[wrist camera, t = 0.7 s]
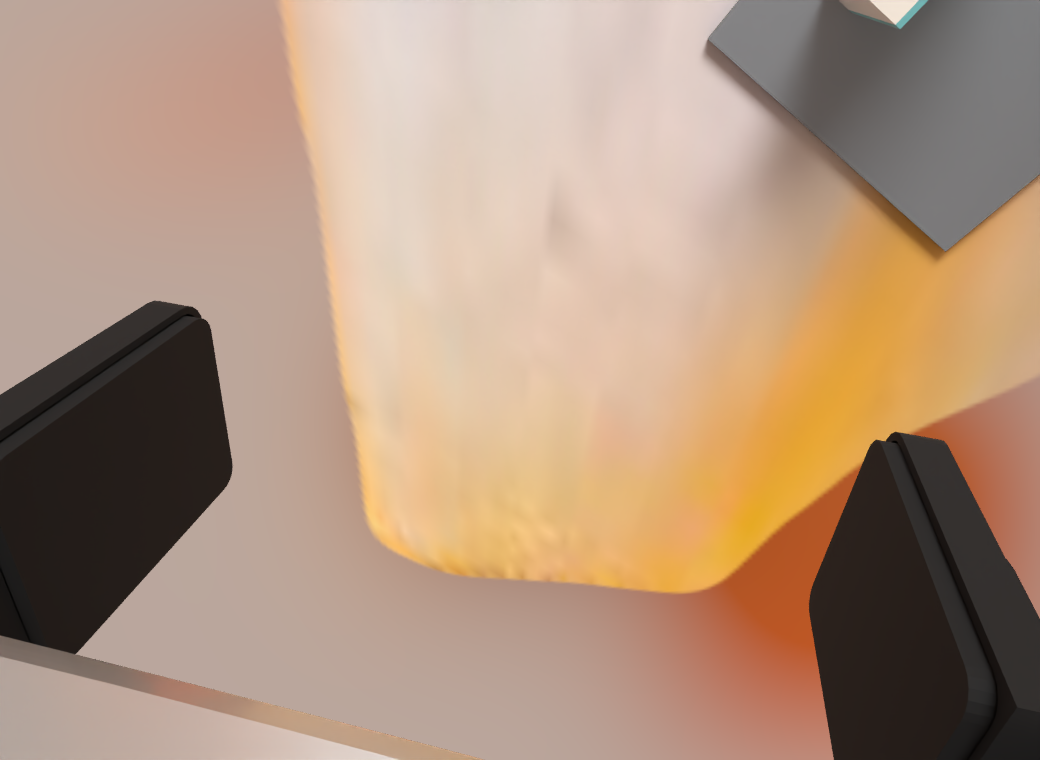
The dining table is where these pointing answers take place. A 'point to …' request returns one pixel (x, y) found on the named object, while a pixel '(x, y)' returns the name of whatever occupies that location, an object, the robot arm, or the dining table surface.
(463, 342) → the dining table surface
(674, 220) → the dining table surface
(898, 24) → the tile
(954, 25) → the mat
